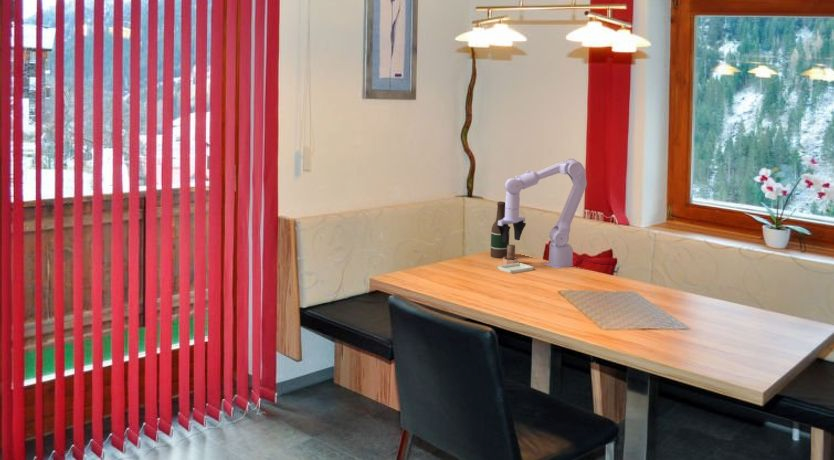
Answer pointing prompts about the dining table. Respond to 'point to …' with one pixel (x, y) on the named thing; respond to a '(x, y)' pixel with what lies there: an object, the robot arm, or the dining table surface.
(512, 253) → the peg
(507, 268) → the tray
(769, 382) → the dining table surface
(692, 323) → the dining table surface
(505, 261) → the holder
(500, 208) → the beer bottle
